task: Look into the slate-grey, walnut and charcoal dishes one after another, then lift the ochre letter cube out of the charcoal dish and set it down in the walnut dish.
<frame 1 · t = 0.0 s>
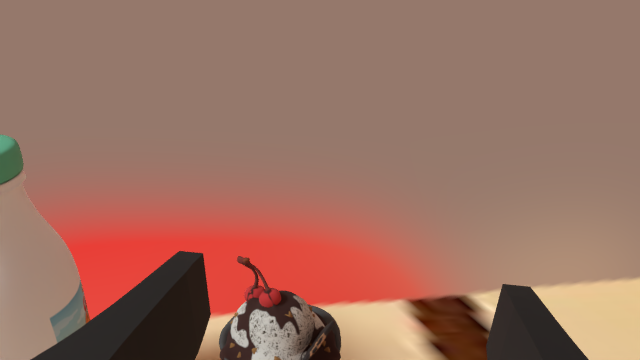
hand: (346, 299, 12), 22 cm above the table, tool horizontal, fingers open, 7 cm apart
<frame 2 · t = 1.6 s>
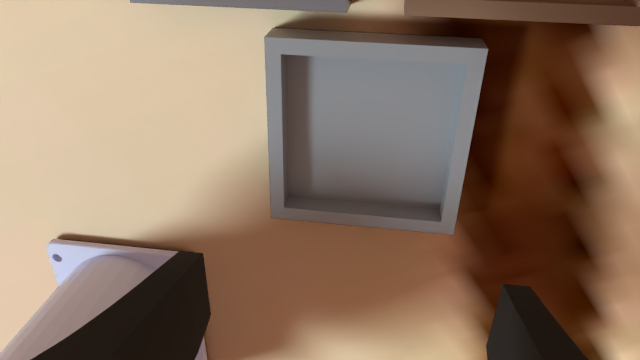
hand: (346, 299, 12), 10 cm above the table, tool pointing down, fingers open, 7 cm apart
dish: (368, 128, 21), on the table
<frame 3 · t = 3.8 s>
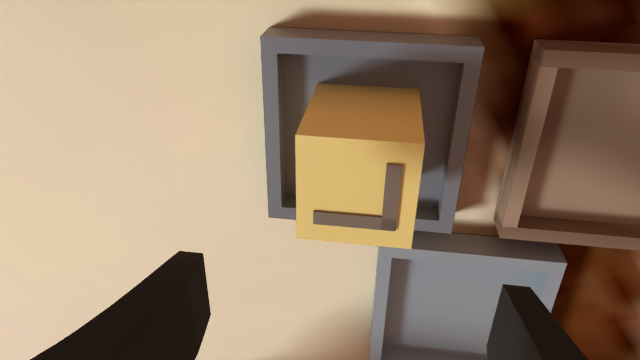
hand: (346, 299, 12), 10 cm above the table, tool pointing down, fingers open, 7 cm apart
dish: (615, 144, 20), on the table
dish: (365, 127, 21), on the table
letter cube: (364, 132, 21), resting on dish
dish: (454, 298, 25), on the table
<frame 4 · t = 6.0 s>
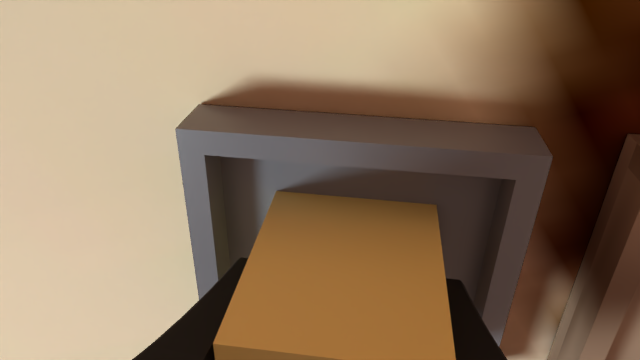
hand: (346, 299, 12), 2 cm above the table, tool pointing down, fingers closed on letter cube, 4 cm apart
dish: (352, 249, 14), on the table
letter cube: (351, 260, 13), resting on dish, touching gripper
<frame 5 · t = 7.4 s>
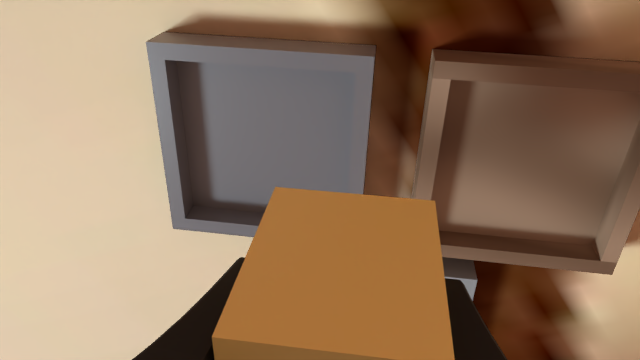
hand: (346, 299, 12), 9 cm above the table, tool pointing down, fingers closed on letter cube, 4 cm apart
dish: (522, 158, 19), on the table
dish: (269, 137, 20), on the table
letter cube: (349, 256, 13), point 7 cm above the table, touching gripper
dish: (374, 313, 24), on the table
when the fingers open (3 cm above the table, at t = 9.2 s): letter cube drops 1 cm, resting on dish.
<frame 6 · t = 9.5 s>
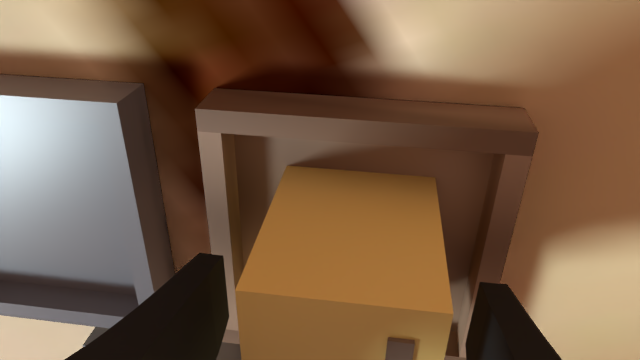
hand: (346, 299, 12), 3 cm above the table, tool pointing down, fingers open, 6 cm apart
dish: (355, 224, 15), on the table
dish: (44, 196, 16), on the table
letter cube: (355, 231, 14), resting on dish
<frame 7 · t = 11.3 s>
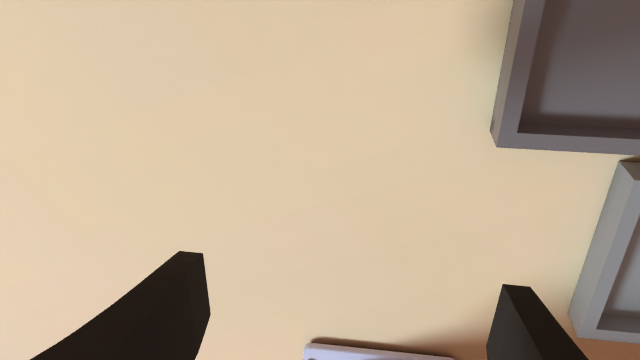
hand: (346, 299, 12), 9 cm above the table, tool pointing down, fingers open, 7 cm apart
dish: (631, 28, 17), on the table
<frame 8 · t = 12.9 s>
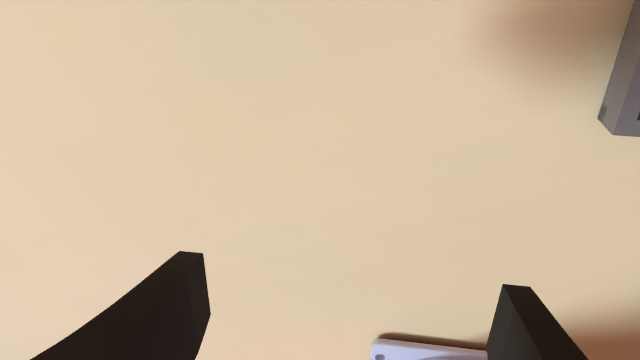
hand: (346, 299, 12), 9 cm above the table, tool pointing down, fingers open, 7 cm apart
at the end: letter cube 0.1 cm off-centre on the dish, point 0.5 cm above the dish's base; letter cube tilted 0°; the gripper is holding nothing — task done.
